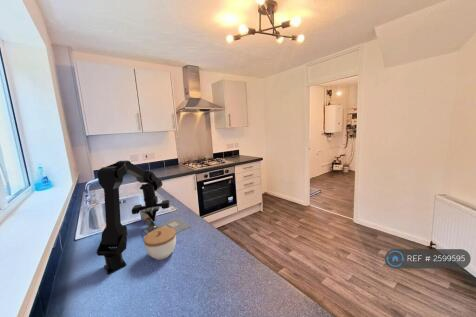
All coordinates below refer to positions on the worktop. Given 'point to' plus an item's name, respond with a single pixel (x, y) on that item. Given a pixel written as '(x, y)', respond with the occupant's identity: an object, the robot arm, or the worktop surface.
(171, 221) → the chassis plate
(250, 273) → the worktop surface
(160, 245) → the lidded bowl
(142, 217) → the medicine box
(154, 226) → the cable arm
